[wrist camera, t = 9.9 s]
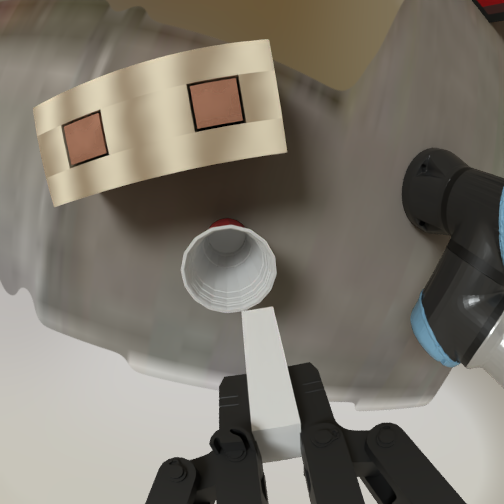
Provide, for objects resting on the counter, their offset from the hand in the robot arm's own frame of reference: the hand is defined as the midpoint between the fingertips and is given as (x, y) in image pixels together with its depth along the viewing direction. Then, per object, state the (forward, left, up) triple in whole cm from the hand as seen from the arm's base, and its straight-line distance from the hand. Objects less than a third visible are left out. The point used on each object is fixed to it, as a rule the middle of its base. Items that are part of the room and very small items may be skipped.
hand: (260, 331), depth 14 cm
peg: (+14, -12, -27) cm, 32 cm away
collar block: (+7, -12, -30) cm, 33 cm away
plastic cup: (+2, +6, -30) cm, 30 cm away
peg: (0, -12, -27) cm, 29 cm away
